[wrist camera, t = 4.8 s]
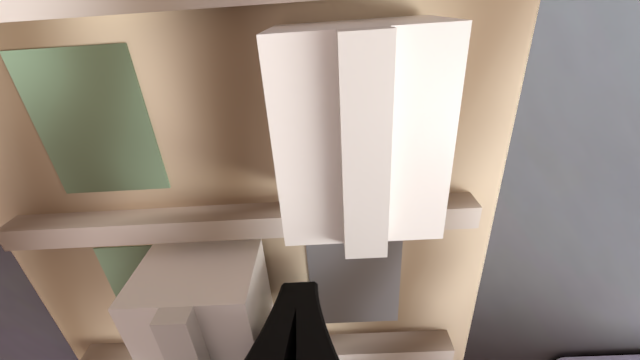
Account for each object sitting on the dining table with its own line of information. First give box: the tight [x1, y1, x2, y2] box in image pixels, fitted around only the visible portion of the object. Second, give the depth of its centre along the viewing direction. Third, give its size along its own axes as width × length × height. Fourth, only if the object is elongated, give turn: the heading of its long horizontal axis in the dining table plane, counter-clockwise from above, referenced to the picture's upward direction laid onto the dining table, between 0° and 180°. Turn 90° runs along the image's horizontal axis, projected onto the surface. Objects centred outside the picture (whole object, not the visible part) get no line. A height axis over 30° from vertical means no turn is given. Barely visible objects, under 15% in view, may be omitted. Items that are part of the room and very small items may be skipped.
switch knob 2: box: [256, 15, 472, 259], centre depth 8 cm, size 4×5×4 cm
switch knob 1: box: [108, 239, 273, 360], centre depth 12 cm, size 4×5×4 cm
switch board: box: [0, 0, 540, 360], centre depth 14 cm, size 18×22×3 cm
